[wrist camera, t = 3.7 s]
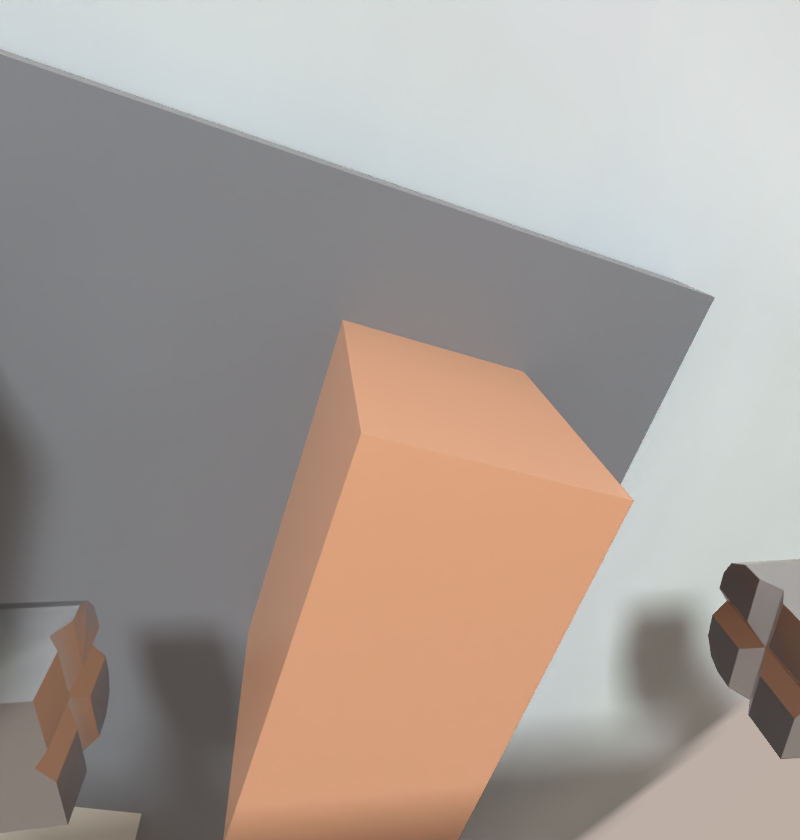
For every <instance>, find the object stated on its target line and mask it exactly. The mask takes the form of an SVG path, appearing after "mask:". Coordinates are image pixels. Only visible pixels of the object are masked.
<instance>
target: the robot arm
mask: <svg viewBox="0 0 800 840" xmlns="http://www.w3.org/2000/svg"><path fill="white" fill-rule="evenodd" d="M720 590H721V592H722V594H723V595H724V597H725V599H726V600H727V601H726V602H725V603H724V604H723V605H722V606H721V607H720V608H719V609H718V610H717V611H716V612H715V613H714V614H713V615H712V620H711V625H710V630H709V634H708V637H709V644H710V651H711V657H712V659H713V661H714V664H715V666H716V668H717V671H718V673H719V674H720V675H721V677H722V678H723V680H724V681H725V683H726V684H727V686H728V687H729V688H731V689H733V690H734V691H736V692H738V693H739V694H741V695H743V696H744V697H746V698H748V699H749V700H750V702H749V716H750V717H751V719H752V720H753V722H754V723H755V724H756V726H757V727H758V728H759V730H760V731H761V733H762V734H763V735H764V737H765V738H766V739H767V741H768V742H769V743H770V745H771V746H772V747H773V749H774V750H775V752H776V753H777V754H778V756H779V757H780V759H788V758H800V559H793V560H777V561H761V562H745V563H731V565H730V566H729V567H728V568H727V570H726V571H725V572H724V574H723V578H722V581H721V585H720ZM98 630H99V623H98V619H97V615H96V611H95V607H94V605H93V604H91V603H90V602H89V601H87V600H83V601H55V602H28V603H2V604H0V833H6V832H14V831H23V830H31V829H39V828H48V827H56V826H64V825H68V823H69V821H70V818H71V815H72V812H73V809H74V807H75V804H76V801H77V798H78V795H79V793H80V790H81V787H82V784H83V781H84V779H85V776H86V773H87V767H86V763H85V758H84V754H83V751H84V750H85V749H86V748H87V747H88V746H90V745H91V744H92V743H93V742H94V741H95V740H96V739H97V738H99V736H100V733H101V730H102V727H103V724H104V721H105V718H106V713H107V706H108V699H109V692H110V688H109V670H108V665H107V660H106V656H105V655H104V654H103V653H102V652H101V651H99V650H98V649H97V648H96V647H94V646H93V645H92V644H93V642H94V639H95V637H96V635H97V632H98Z"/></svg>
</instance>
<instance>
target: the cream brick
mask: <svg viewBox="0 0 800 840" xmlns="http://www.w3.org/2000/svg"><path fill="white" fill-rule="evenodd" d="M140 818H141V813H131V812H121V811H111V810H101V809H92V808H82V807H74V809H73V812H72V815H71V818H70V821H69V823H68V825H64V826H56V827H48V828H39V829H31V830H23V831H14V832H6V833H0V840H135V839H136V835H137V830H138V826H139V822H140Z"/></svg>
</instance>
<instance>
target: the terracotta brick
mask: <svg viewBox="0 0 800 840" xmlns="http://www.w3.org/2000/svg"><path fill="white" fill-rule="evenodd" d="M633 501H634V500H633V499H632V498H631V497H630V496H629V494H628V493H627V492H626V491H625V490H624V489H623V487H622V486H621V485H620V484H619V483H618V482H617V480H616V479H615V478H614V477H613V476H612V475H611V473H610V472H609V471H608V470H607V469H606V467H605V466H604V465H603V464H602V463H601V462H600V460H599V459H598V458H597V457H596V456H595V455H594V453H593V452H592V451H591V450H590V449H589V448H588V446H587V445H586V444H585V443H584V442H583V441H582V439H581V438H580V437H579V436H578V435H577V433H576V432H575V431H574V430H573V429H572V428H571V426H570V425H569V424H568V423H567V422H566V421H565V419H564V418H563V417H562V416H561V415H560V414H559V412H558V411H557V410H556V409H555V408H554V407H553V405H552V404H551V403H550V402H549V401H548V399H547V398H546V397H545V396H544V395H543V394H542V392H541V391H540V390H539V389H538V388H537V387H536V385H535V384H534V383H533V382H532V381H531V380H530V378H529V377H528V376H527V375H526V374H525V373H524V372H523V371H519V370H516V369H512V368H509V367H505V366H502V365H498V364H495V363H491V362H488V361H485V360H481V359H478V358H474V357H471V356H467V355H464V354H460V353H457V352H453V351H450V350H446V349H443V348H439V347H436V346H432V345H429V344H425V343H422V342H418V341H415V340H411V339H408V338H404V337H401V336H397V335H394V334H390V333H387V332H383V331H380V330H376V329H373V328H369V327H366V326H362V325H359V324H355V323H352V322H348V321H345V320H342V323H341V327H340V330H339V333H338V336H337V340H336V343H335V346H334V350H333V353H332V356H331V360H330V363H329V366H328V370H327V373H326V376H325V379H324V383H323V386H322V389H321V393H320V396H319V399H318V403H317V406H316V409H315V413H314V416H313V419H312V422H311V426H310V429H309V432H308V436H307V439H306V442H305V446H304V449H303V452H302V455H301V459H300V462H299V465H298V469H297V472H296V475H295V479H294V482H293V485H292V489H291V492H290V495H289V498H288V502H287V505H286V508H285V512H284V515H283V518H282V522H281V525H280V528H279V531H278V535H277V538H276V541H275V545H274V548H273V551H272V555H271V558H270V561H269V565H268V568H267V571H266V574H265V578H264V581H263V584H262V588H261V591H260V594H259V598H258V601H257V604H256V608H255V611H254V614H253V617H252V621H251V624H250V627H249V631H248V638H247V646H246V655H245V663H244V671H243V679H242V688H241V696H240V704H239V713H238V721H237V729H236V738H235V746H234V754H233V763H232V771H231V779H230V787H229V796H228V804H227V812H226V821H225V829H224V837H223V840H458V839H459V837H460V835H461V833H462V831H463V830H464V828H465V826H466V824H467V822H468V820H469V818H470V816H471V814H472V812H473V810H474V808H475V806H476V804H477V802H478V801H479V799H480V797H481V795H482V793H483V791H484V789H485V787H486V785H487V783H488V781H489V779H490V777H491V775H492V773H493V772H494V770H495V768H496V766H497V764H498V762H499V760H500V758H501V756H502V754H503V752H504V750H505V748H506V746H507V744H508V743H509V741H510V739H511V737H512V735H513V733H514V731H515V729H516V727H517V725H518V723H519V721H520V719H521V717H522V715H523V714H524V712H525V710H526V708H527V706H528V704H529V702H530V700H531V698H532V696H533V694H534V692H535V690H536V688H537V686H538V685H539V683H540V681H541V679H542V677H543V675H544V673H545V671H546V669H547V667H548V665H549V663H550V661H551V659H552V658H553V656H554V654H555V652H556V650H557V648H558V646H559V644H560V642H561V640H562V638H563V636H564V634H565V632H566V630H567V629H568V627H569V625H570V623H571V621H572V619H573V617H574V615H575V613H576V611H577V609H578V607H579V605H580V603H581V601H582V600H583V598H584V596H585V594H586V592H587V590H588V588H589V586H590V584H591V582H592V580H593V578H594V576H595V574H596V572H597V571H598V569H599V567H600V565H601V563H602V561H603V559H604V557H605V555H606V553H607V551H608V549H609V547H610V545H611V543H612V542H613V540H614V538H615V536H616V534H617V532H618V530H619V528H620V526H621V524H622V522H623V520H624V518H625V516H626V515H627V513H628V511H629V509H630V507H631V505H632V503H633Z"/></svg>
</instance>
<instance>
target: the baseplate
mask: <svg viewBox="0 0 800 840" xmlns="http://www.w3.org/2000/svg"><path fill="white" fill-rule="evenodd" d="M714 298H715V297H713V296H710V295H708V294H706V293H703V292H701V291H699V290H697V289H694V288H692V287H690V286H687V285H685V284H683V283H680V282H678V281H676V280H673V279H670V278H667V277H664V276H661V275H658V274H655V273H652V272H649V271H646V270H643V269H641V268H638V267H635V266H632V265H629V264H626V263H623V262H620V261H617V260H614V259H611V258H608V257H605V256H603V255H600V254H597V253H594V252H591V251H588V250H585V249H582V248H579V247H576V246H573V245H570V244H567V243H565V242H562V241H559V240H556V239H553V238H550V237H547V236H544V235H541V234H538V233H535V232H532V231H529V230H527V229H524V228H521V227H518V226H515V225H512V224H509V223H506V222H503V221H500V220H497V219H494V218H491V217H489V216H486V215H483V214H480V213H477V212H474V211H471V210H468V209H465V208H462V207H459V206H456V205H453V204H451V203H448V202H445V201H442V200H439V199H436V198H433V197H430V196H427V195H424V194H421V193H418V192H416V191H413V190H410V189H407V188H404V187H401V186H398V185H395V184H392V183H389V182H386V181H383V180H380V179H378V178H375V177H372V176H369V175H366V174H363V173H360V172H357V171H354V170H351V169H348V168H345V167H342V166H340V165H337V164H334V163H331V162H328V161H325V160H322V159H319V158H316V157H313V156H310V155H307V154H304V153H302V152H299V151H296V150H293V149H290V148H287V147H284V146H281V145H278V144H275V143H272V142H269V141H266V140H264V139H261V138H258V137H255V136H252V135H249V134H246V133H243V132H240V131H237V130H234V129H231V128H228V127H226V126H223V125H220V124H217V123H214V122H211V121H208V120H205V119H202V118H199V117H196V116H193V115H190V114H188V113H185V112H182V111H179V110H176V109H173V108H170V107H167V106H164V105H161V104H158V103H155V102H152V101H150V100H147V99H144V98H141V97H138V96H135V95H132V94H129V93H126V92H123V91H120V90H117V89H114V88H112V87H109V86H106V85H103V84H100V83H97V82H94V81H91V80H88V79H85V78H82V77H79V76H76V75H74V74H71V73H68V72H65V71H62V70H59V69H56V68H53V67H50V66H47V65H44V64H41V63H38V62H36V61H33V60H30V59H27V58H24V57H21V56H18V55H15V54H12V53H9V52H6V51H3V50H0V604H2V603H28V602H55V601H83V600H87V601H89V602H90V603H91V604H93V605H94V607H95V611H96V615H97V619H98V623H99V630H98V632H97V635H96V637H95V639H94V642H93V644H92V645H93V646H94V647H96V648H97V649H98V650H99V651H101V652H102V653H103V654H104V655H105V656H106V660H107V665H108V670H109V688H110V692H109V699H108V706H107V713H106V718H105V721H104V724H103V727H102V730H101V733H100V736H99V738H97V739H96V740H95V741H94V742H93V743H92V744H91V745H90V746H88V747H87V748H86V749H85V750H84V751H83V754H84V758H85V763H86V767H87V773H86V776H85V779H84V781H83V784H82V787H81V790H80V793H79V795H78V798H77V801H76V804H75V807H82V808H92V809H101V810H111V811H121V812H131V813H141V818H140V822H139V826H138V830H137V835H136V839H135V840H223V837H224V829H225V821H226V812H227V804H228V796H229V787H230V779H231V771H232V763H233V754H234V746H235V738H236V729H237V721H238V713H239V704H240V696H241V688H242V679H243V671H244V663H245V655H246V646H247V638H248V631H249V627H250V624H251V621H252V617H253V614H254V611H255V608H256V604H257V601H258V598H259V594H260V591H261V588H262V584H263V581H264V578H265V574H266V571H267V568H268V565H269V561H270V558H271V555H272V551H273V548H274V545H275V541H276V538H277V535H278V531H279V528H280V525H281V522H282V518H283V515H284V512H285V508H286V505H287V502H288V498H289V495H290V492H291V489H292V485H293V482H294V479H295V475H296V472H297V469H298V465H299V462H300V459H301V455H302V452H303V449H304V446H305V442H306V439H307V436H308V432H309V429H310V426H311V422H312V419H313V416H314V413H315V409H316V406H317V403H318V399H319V396H320V393H321V389H322V386H323V383H324V379H325V376H326V373H327V370H328V366H329V363H330V360H331V356H332V353H333V350H334V346H335V343H336V340H337V336H338V333H339V330H340V327H341V323H342V320H345V321H348V322H352V323H355V324H359V325H362V326H366V327H369V328H373V329H376V330H380V331H383V332H387V333H390V334H394V335H397V336H401V337H404V338H408V339H411V340H415V341H418V342H422V343H425V344H429V345H432V346H436V347H439V348H443V349H446V350H450V351H453V352H457V353H460V354H464V355H467V356H471V357H474V358H478V359H481V360H485V361H488V362H491V363H495V364H498V365H502V366H505V367H509V368H512V369H516V370H519V371H523V372H524V373H525V374H526V375H527V376H528V377H529V378H530V380H531V381H532V382H533V383H534V384H535V385H536V387H537V388H538V389H539V390H540V391H541V392H542V394H543V395H544V396H545V397H546V398H547V399H548V401H549V402H550V403H551V404H552V405H553V407H554V408H555V409H556V410H557V411H558V412H559V414H560V415H561V416H562V417H563V418H564V419H565V421H566V422H567V423H568V424H569V425H570V426H571V428H572V429H573V430H574V431H575V432H576V433H577V435H578V436H579V437H580V438H581V439H582V441H583V442H584V443H585V444H586V445H587V446H588V448H589V449H590V450H591V451H592V452H593V453H594V455H595V456H596V457H597V458H598V459H599V460H600V462H601V463H602V464H603V465H604V466H605V467H606V469H607V470H608V471H609V472H610V473H611V475H612V476H613V477H614V478H615V479H616V480H617V482H618V483H619V484H621V482H622V480H623V478H624V476H625V474H626V472H627V470H628V468H629V466H630V464H631V462H632V460H633V458H634V456H635V454H636V452H637V450H638V448H639V446H640V444H641V442H642V440H643V438H644V436H645V434H646V432H647V430H648V428H649V426H650V424H651V423H652V421H653V419H654V417H655V415H656V413H657V411H658V409H659V407H660V405H661V403H662V401H663V399H664V397H665V395H666V393H667V391H668V389H669V387H670V385H671V383H672V381H673V379H674V377H675V375H676V373H677V371H678V369H679V367H680V365H681V363H682V361H683V359H684V357H685V355H686V353H687V351H688V349H689V347H690V345H691V343H692V341H693V339H694V337H695V335H696V333H697V331H698V329H699V327H700V325H701V323H702V321H703V319H704V317H705V315H706V313H707V311H708V309H709V307H710V305H711V303H712V302H713V300H714Z"/></svg>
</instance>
